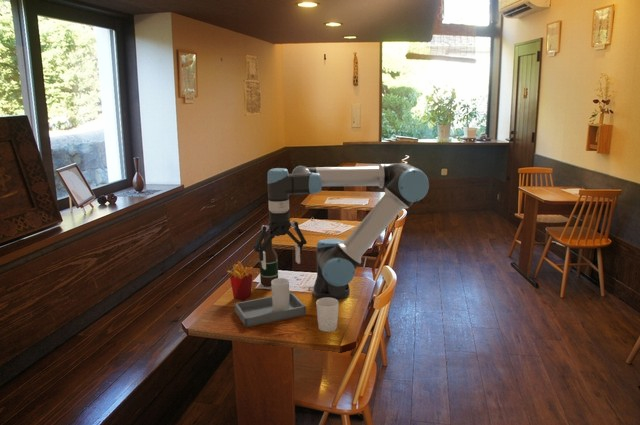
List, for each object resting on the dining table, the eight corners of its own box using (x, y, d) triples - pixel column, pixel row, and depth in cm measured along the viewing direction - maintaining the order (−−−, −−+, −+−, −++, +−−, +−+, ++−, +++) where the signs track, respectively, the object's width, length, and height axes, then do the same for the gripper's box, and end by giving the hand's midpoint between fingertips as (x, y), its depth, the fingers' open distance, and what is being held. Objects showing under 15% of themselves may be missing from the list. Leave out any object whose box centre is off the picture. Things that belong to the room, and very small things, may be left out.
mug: (285, 315, 196) (284, 286, 193) (269, 312, 199) (268, 283, 196) (296, 304, 205) (295, 276, 202) (281, 302, 208) (280, 274, 205)
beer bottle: (260, 281, 231) (257, 229, 225) (277, 279, 232) (275, 227, 226) (261, 287, 224) (258, 234, 218) (279, 286, 225) (277, 233, 219)
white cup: (316, 323, 191) (315, 297, 189) (337, 322, 192) (337, 296, 189) (317, 333, 184) (316, 307, 181) (339, 332, 184) (339, 306, 182)
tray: (292, 300, 211) (292, 292, 210) (306, 315, 198) (305, 306, 197) (235, 311, 202) (234, 303, 201) (245, 327, 189) (245, 318, 188)
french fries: (254, 296, 215) (252, 262, 211) (240, 304, 208) (238, 268, 204) (237, 292, 220) (235, 258, 216) (224, 299, 213) (221, 264, 209)
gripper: (249, 217, 183) (252, 274, 189) (314, 209, 193) (315, 263, 198) (243, 212, 190) (246, 267, 195) (306, 204, 200) (307, 257, 205)
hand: (281, 265), depth 197 cm, fingers open, 13 cm apart
